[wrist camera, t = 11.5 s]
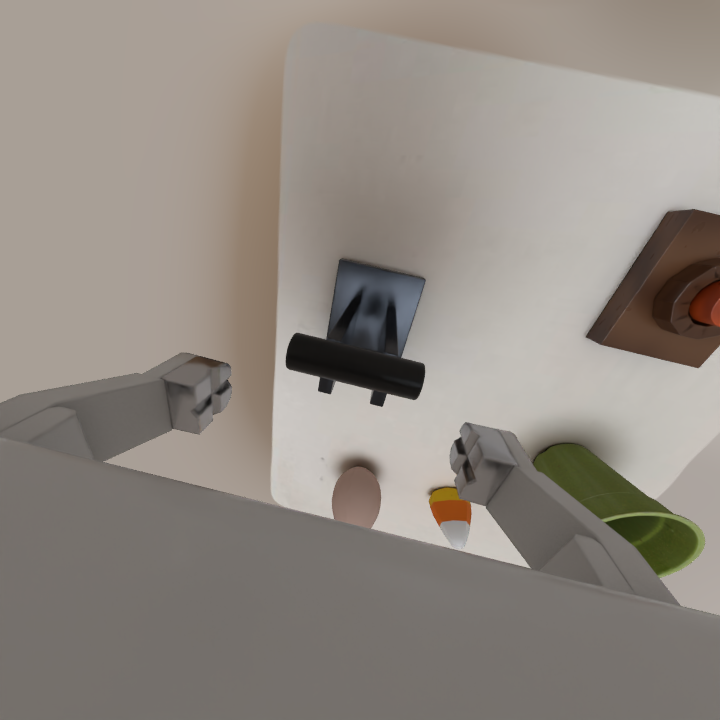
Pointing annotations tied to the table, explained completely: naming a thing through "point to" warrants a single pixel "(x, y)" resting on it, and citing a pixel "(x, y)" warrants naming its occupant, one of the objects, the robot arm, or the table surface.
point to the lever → (355, 366)
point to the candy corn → (451, 515)
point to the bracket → (372, 312)
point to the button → (707, 305)
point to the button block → (666, 293)
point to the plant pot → (624, 508)
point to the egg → (357, 497)
